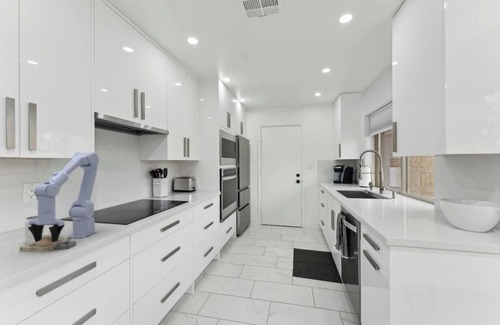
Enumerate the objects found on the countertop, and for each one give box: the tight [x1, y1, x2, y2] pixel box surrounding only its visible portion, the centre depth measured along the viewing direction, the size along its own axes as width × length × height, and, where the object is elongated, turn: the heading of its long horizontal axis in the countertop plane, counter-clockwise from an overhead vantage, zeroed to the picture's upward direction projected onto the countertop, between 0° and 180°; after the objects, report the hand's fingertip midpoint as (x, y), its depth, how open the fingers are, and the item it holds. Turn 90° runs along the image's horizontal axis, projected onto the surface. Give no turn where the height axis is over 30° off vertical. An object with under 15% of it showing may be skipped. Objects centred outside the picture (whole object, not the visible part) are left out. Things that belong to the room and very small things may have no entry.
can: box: [24, 215, 45, 245], centre depth 105 cm, size 6×6×12 cm
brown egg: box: [40, 236, 53, 246], centre depth 97 cm, size 4×4×4 cm
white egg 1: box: [42, 231, 51, 238], centre depth 103 cm, size 4×4×4 cm
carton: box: [19, 237, 72, 253], centre depth 100 cm, size 12×12×2 cm
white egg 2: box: [56, 231, 66, 242], centre depth 102 cm, size 4×4×4 cm
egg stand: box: [56, 240, 77, 250], centre depth 99 cm, size 5×5×2 cm
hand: (46, 241), depth 97 cm, fingers open, 7 cm apart
